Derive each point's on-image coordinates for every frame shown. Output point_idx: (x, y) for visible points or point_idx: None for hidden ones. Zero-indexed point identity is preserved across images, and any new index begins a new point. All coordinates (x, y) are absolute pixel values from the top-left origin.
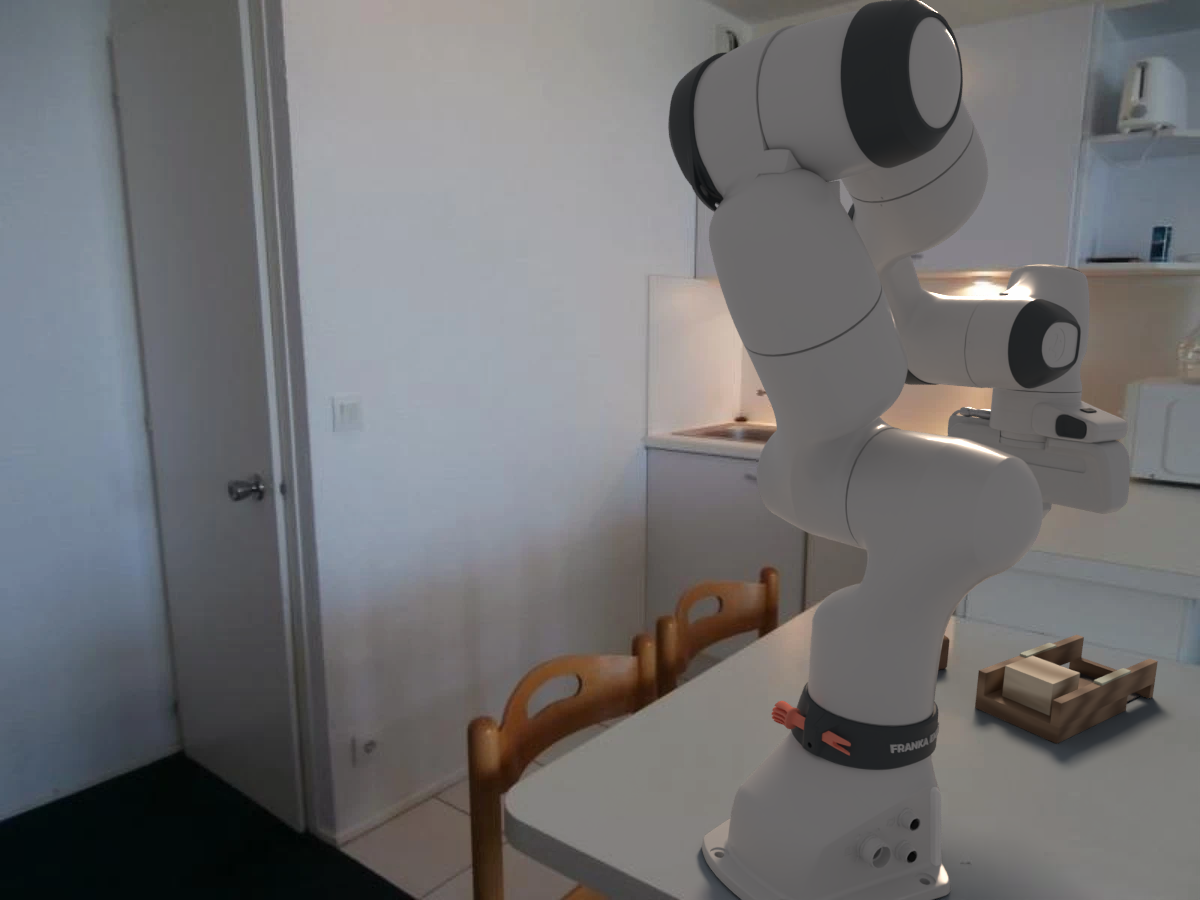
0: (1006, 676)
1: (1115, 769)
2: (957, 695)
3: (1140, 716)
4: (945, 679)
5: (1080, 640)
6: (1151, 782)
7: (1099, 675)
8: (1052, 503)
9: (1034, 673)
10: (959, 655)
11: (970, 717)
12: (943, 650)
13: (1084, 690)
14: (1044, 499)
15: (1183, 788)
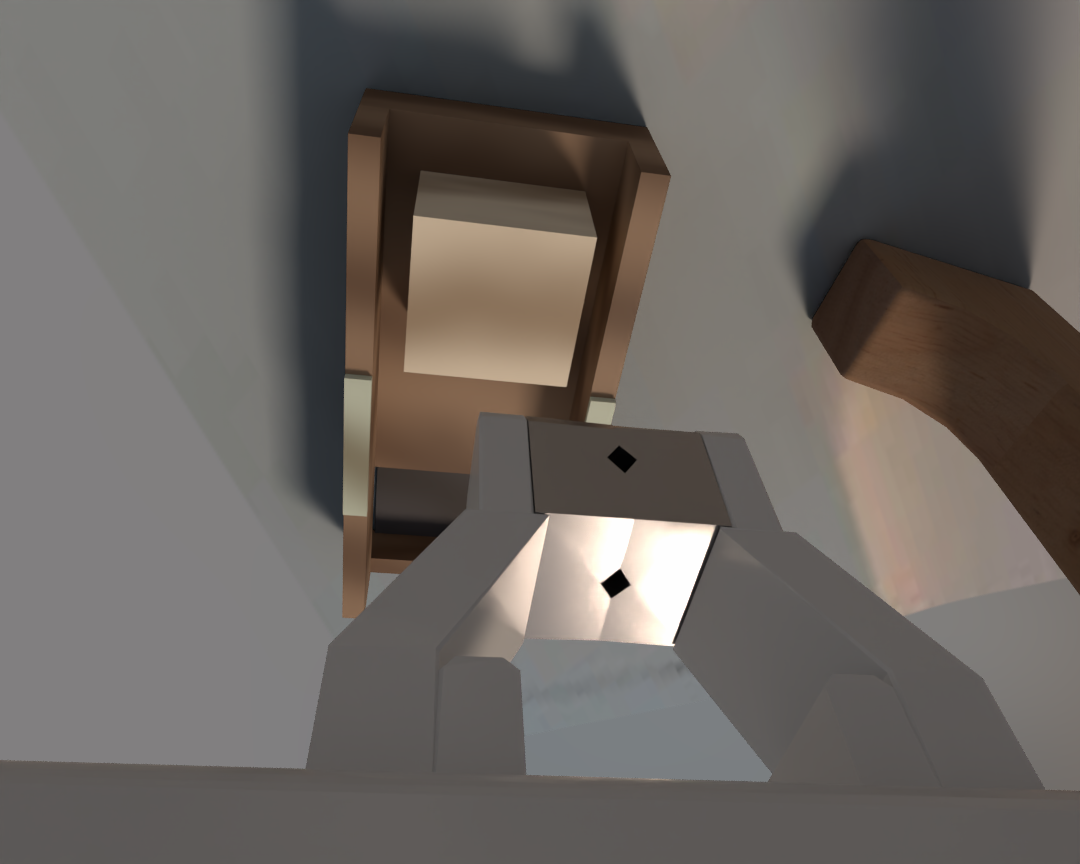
0: (584, 221)
1: (179, 66)
2: (721, 170)
3: (320, 433)
4: (789, 250)
5: None
6: (80, 71)
7: None
8: (13, 762)
9: (498, 253)
10: (805, 428)
11: (631, 43)
12: (841, 335)
13: (358, 299)
14: (150, 800)
15: (18, 111)
